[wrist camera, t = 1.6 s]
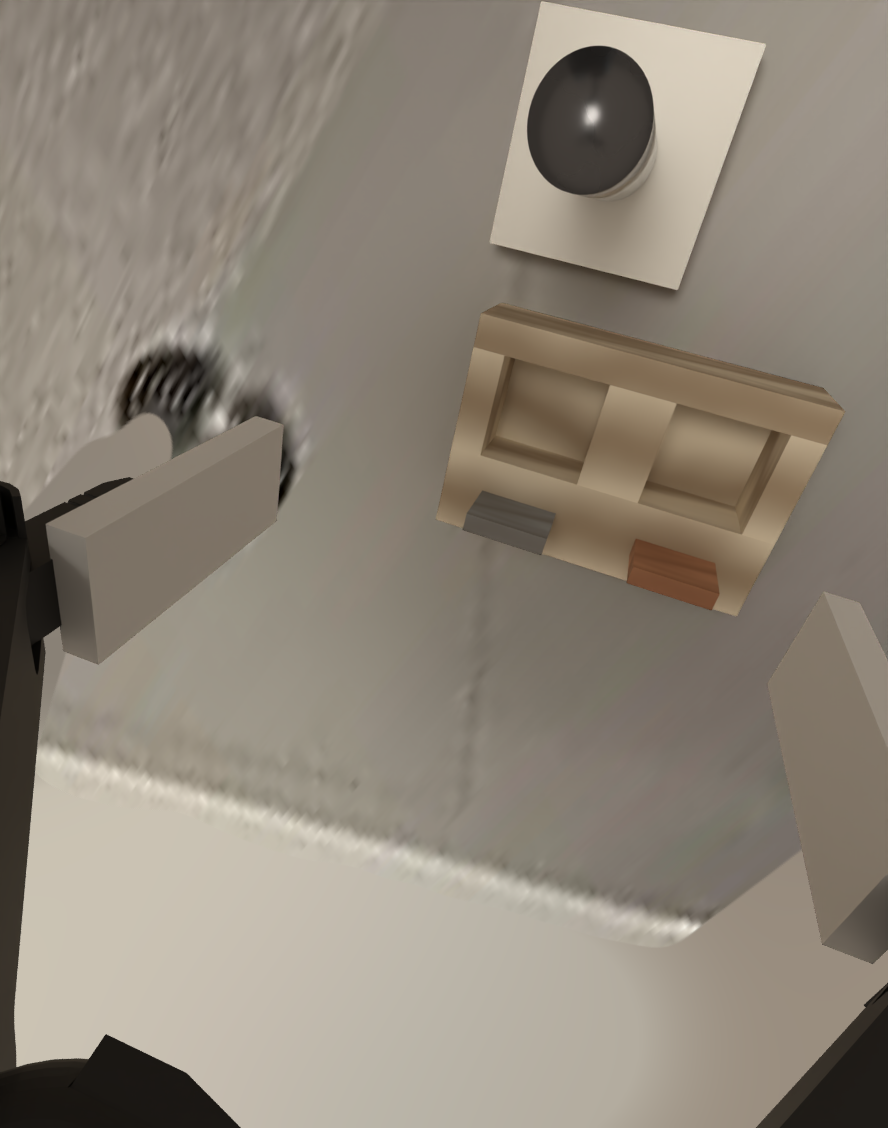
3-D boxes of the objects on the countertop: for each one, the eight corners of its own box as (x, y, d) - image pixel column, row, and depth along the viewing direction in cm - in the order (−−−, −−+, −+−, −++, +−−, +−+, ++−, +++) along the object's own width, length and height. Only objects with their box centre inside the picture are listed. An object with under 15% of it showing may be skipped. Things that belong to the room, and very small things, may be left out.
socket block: (501, 302, 38) (462, 322, 30) (823, 388, 35) (864, 432, 28) (457, 490, 44) (417, 543, 37) (729, 575, 41) (742, 651, 34)
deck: (547, 12, 31) (541, 1, 30) (760, 54, 30) (766, 43, 28) (497, 241, 36) (489, 242, 35) (677, 286, 35) (677, 290, 33)
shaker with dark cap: (585, 94, 31) (546, 34, 20) (670, 112, 30) (673, 59, 20) (560, 191, 33) (513, 179, 22) (639, 210, 32) (628, 206, 22)
